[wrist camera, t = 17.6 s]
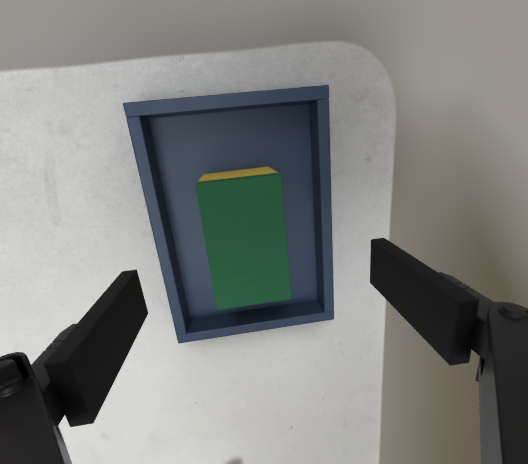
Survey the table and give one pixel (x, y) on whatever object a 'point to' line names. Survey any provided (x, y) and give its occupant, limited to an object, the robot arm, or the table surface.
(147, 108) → the tray
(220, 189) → the sponge
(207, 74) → the table surface
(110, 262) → the table surface
